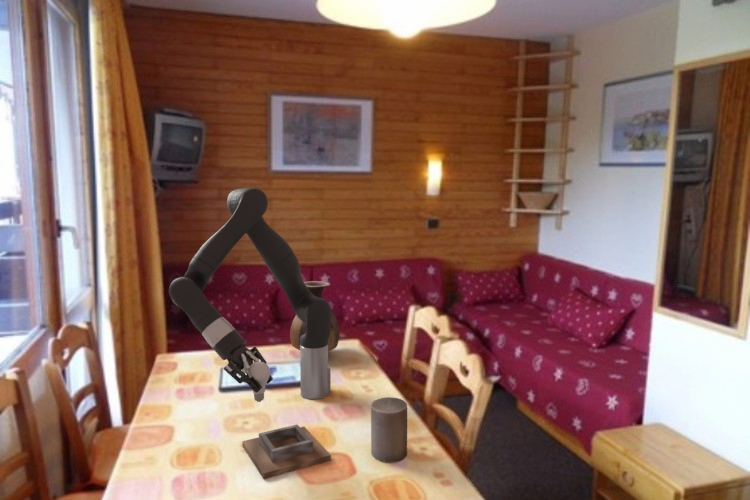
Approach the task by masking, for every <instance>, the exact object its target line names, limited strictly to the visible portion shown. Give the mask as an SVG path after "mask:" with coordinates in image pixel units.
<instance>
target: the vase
mask: <svg viewBox="0 0 750 500" xmlns="http://www.w3.org/2000/svg"><path fill="white" fill-rule="evenodd" d="M303 282H304V283H305V285H306V286H307V288H308V289H309V291H310V292H311V293H312V294H313V295H314V296H316V297H319V298H322V299H323V290H324V289H325V288H327V287H330V286H331V283H330V282H326V281H322V280H320V281H319V280H311V281H303ZM330 308H331V332H330V337H329V339H328V352H331V351H333V350H335V349H336V348H337V347H338V344H339V340H340V327H339V323H338V319H337V317H336V316H335V314H334V313H333V312H332V311H333V308H332V307H331V306H330ZM306 327H307V323H305V322H303V321H301V320H300V319H299V318H298V317H297V315H296V314H295V316H294V318H293V320H292V322H291V325H290V332H289V334H290V335H289V338H290V343H291V346H292V347H293V348H295V349H297V350H298V351H300V337H301V336H302V335H303V334H306Z"/></svg>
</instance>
